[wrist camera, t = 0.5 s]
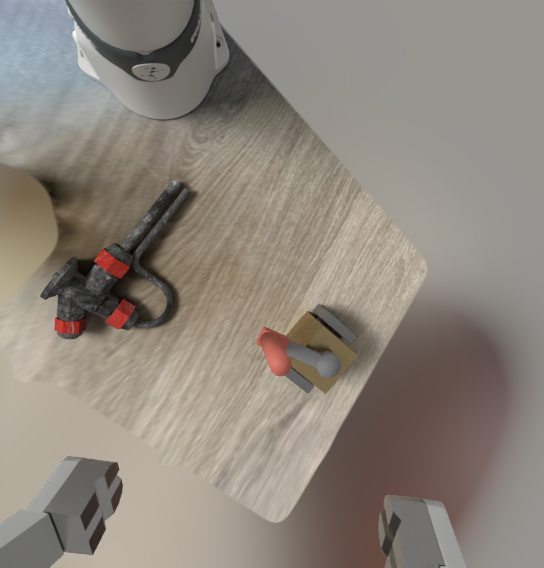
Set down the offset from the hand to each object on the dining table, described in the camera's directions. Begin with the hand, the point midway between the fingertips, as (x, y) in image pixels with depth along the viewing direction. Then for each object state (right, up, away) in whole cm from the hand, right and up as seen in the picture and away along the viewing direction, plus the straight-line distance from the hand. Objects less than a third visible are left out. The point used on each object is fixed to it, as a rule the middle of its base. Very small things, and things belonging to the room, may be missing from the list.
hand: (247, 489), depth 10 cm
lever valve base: (+7, -3, +43) cm, 44 cm away
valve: (-18, +9, +38) cm, 43 cm away
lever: (+4, -3, +34) cm, 34 cm away
